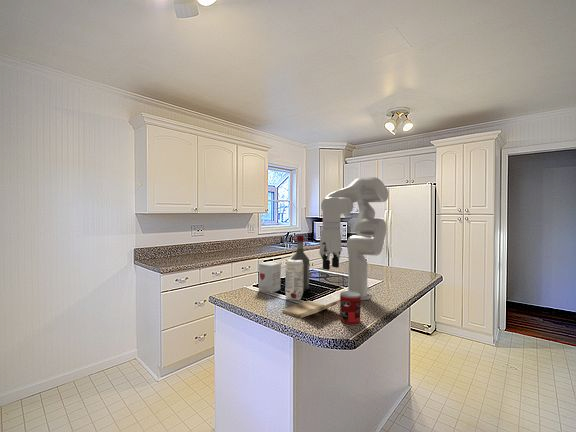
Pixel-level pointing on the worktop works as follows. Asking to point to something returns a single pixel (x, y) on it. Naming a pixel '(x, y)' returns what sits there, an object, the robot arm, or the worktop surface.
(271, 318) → the worktop surface
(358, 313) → the canned food
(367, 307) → the worktop surface
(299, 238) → the liquor
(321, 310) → the plank
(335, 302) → the plank
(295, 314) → the brown wooden board
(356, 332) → the worktop surface
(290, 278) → the juice carton
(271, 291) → the supplement box
